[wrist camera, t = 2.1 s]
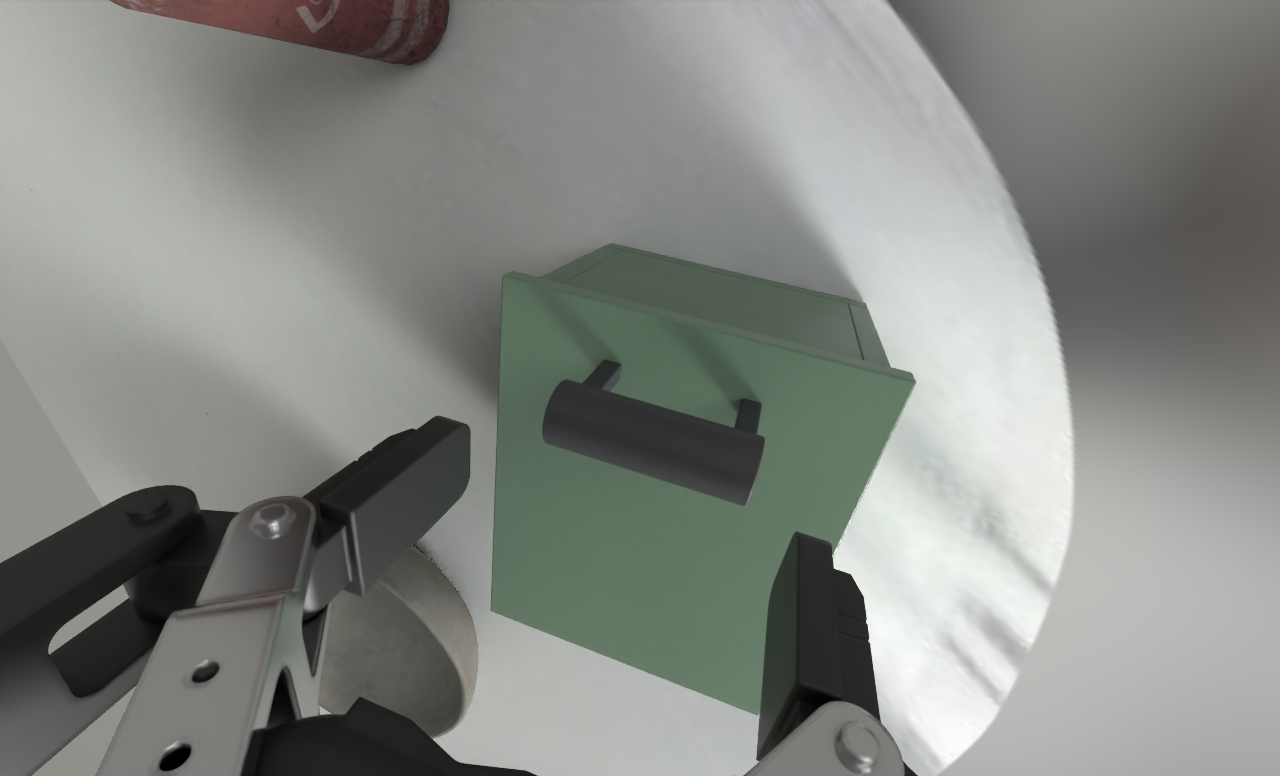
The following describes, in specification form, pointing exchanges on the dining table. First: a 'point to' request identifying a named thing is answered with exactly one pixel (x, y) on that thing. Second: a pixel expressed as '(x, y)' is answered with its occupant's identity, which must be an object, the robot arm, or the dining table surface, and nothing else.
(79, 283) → the dining table surface
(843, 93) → the dining table surface
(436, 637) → the bowl
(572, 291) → the lid
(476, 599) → the dining table surface
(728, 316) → the chest
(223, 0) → the can
